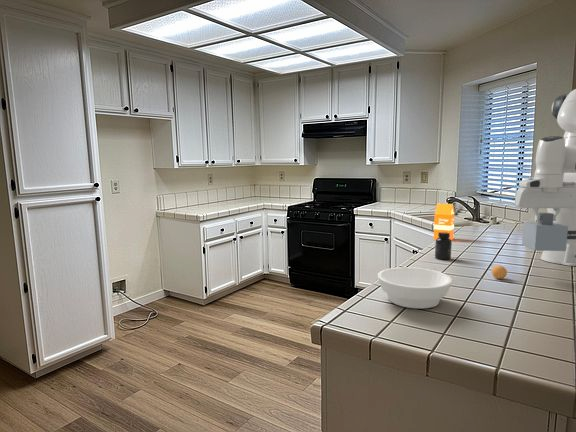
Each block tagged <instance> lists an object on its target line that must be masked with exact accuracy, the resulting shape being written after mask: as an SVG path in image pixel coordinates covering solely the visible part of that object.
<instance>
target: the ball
mask: <svg viewBox="0 0 576 432" xmlns="http://www.w3.org/2000/svg"><path fill="white" fill-rule="evenodd" d="M491 274H492V277H494V278H495V279H498V280H502V279H504V278H505V277H506V276H507V274H508V271H507V269H506V268H505V267H504V266H502V265H495V266H494V267H492V269H491Z"/></svg>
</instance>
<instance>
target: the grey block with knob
mask: <svg viewBox="0 0 576 432" xmlns="http://www.w3.org/2000/svg"><path fill="white" fill-rule="evenodd" d="M537 212H538V214H539V215H540V216H542V217H541V221H523V225H522V226H523V227H522V238H521V245H522V246H524V247H526V248H529V249H530V250H533V251H542V252H543V251H566V244H567V233H568V226H565V225H561V224H558V223H554V222H553V215H554V214H552V213H547V212H543V211H542V212H539V211H537Z"/></svg>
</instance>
